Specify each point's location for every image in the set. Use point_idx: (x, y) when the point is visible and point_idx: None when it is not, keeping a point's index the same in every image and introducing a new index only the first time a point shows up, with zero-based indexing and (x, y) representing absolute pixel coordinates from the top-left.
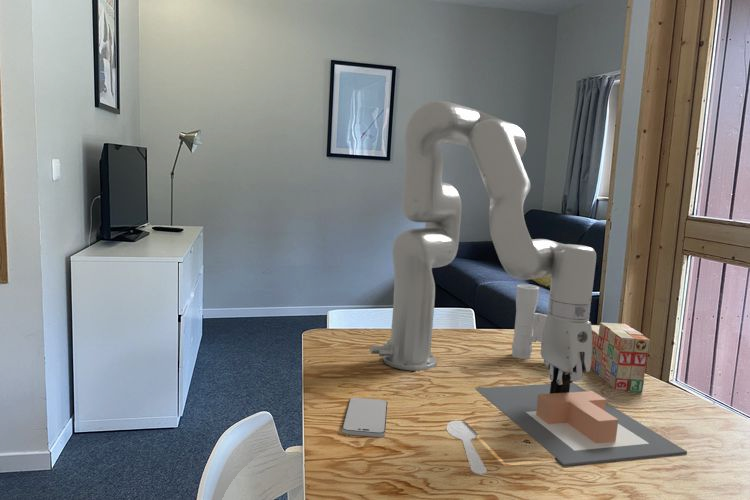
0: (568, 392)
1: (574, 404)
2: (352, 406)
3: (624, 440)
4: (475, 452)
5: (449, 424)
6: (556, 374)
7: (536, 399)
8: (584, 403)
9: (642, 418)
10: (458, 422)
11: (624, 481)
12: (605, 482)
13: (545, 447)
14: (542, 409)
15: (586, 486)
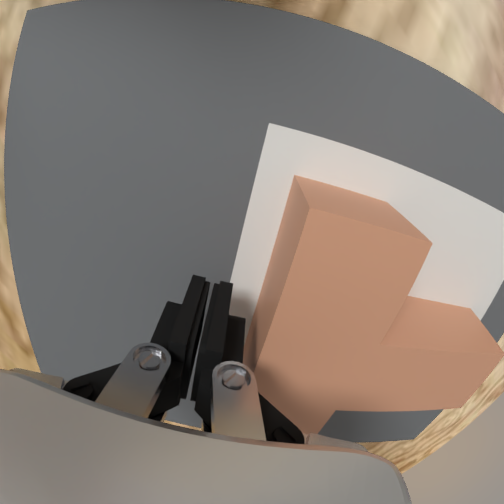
0: (227, 315)
1: (361, 408)
2: None
3: (485, 279)
4: None
5: None
6: (153, 412)
7: (119, 301)
8: (383, 375)
9: (427, 10)
10: None
11: (495, 384)
12: (473, 408)
13: (366, 441)
14: None
15: (453, 430)
